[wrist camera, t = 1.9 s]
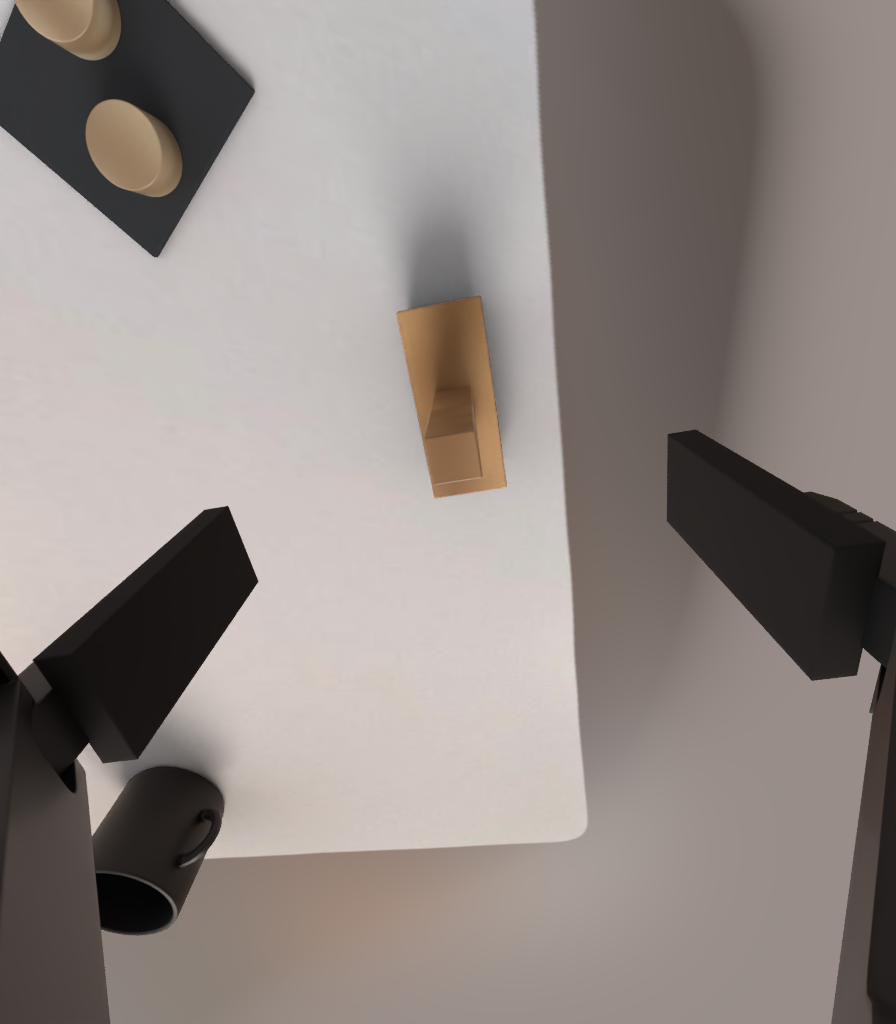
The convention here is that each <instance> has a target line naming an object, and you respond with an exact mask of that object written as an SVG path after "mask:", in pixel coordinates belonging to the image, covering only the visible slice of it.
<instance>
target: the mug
mask: <svg viewBox="0 0 896 1024" xmlns="http://www.w3.org/2000/svg"><path fill="white" fill-rule="evenodd" d="M223 813H224V803H223V799H222V797H221V795H220V793H219V792H218V790H217V789H216V788H215V787H214V786H213V785H212V784H211V783H209V782H208V781H207V780H205V779H203V778H202V777H200V776H198V775H196V774H194V773H191V772H188V771H185V770H181V769H177V768H167V767H160V768H152V769H148V770H145V771H142V772H140V773H139V774H137V775H136V776H134V777H133V778H132V779H131V780H130V781H129V782H128V784H127V785H126V787H125V788H124V790H123V791H122V793H121V794H120V796H119V797H118V799H117V800H116V802H115V803H114V805H113V806H112V808H111V809H110V811H109V812H108V814H107V815H106V817H105V818H104V820H103V821H102V823H101V824H100V826H99V827H98V829H97V830H96V832H95V833H94V835H93V836H92V845H93V855H94V865H95V876H96V886H97V896H98V906H99V916H100V926H101V930H104V931H108V932H112V933H118V934H123V935H149V934H154V933H158V932H161V931H163V930H166V929H167V928H169V927H170V926H171V925H172V924H173V923H174V922H175V921H176V919H177V917H178V915H179V913H180V911H181V908H182V906H183V904H184V902H185V899H186V897H187V895H188V893H189V890H190V888H191V886H192V884H193V881H194V879H195V877H196V875H197V873H198V870H199V868H200V866H201V864H202V861H203V859H204V857H205V855H206V852H207V850H208V849H209V847H210V846H211V845H212V844H213V842H214V841H215V839H216V837H217V835H218V833H219V831H220V828H221V824H222V817H223Z"/></svg>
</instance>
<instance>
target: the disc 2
mask: <svg viewBox="0 0 896 1024" xmlns="http://www.w3.org/2000/svg"><path fill="white" fill-rule="evenodd" d="M86 142H87V146H88V150H89V153H90V155H91V158H92V160H93V162H94V163H95V165H96V167H97V168H98V169H99V171H100V172H101V173H102V174H103V175H104V176H105V177H106V178H107V179H108V180H109V181H110V182H112V183H113V184H115V185H116V186H118V187H120V188H123V189H126V190H129V191H132V192H136V193H139V194H143V195H146V196H150V197H161V196H165V195H167V194H169V193H170V192H172V191H173V190H174V189H175V188H176V186H177V185H178V183H179V181H180V178H181V175H182V167H183V164H182V155H181V151H180V148H179V145H178V143H177V141H176V139H175V137H174V135H173V134H172V132H171V131H170V130H169V128H168V127H167V126H166V125H165V124H164V123H163V122H161V121H160V120H159V119H157V118H156V117H154V116H152V115H150V114H149V113H147V112H145V111H143V110H141V109H140V108H138V107H136V106H134V105H132V104H130V103H128V102H126V101H123V100H118V99H110V100H106V101H103V102H101V103H99V104H98V105H96V106H95V107H94V108H93V110H92V111H91V113H90V114H89V117H88V119H87V124H86Z"/></svg>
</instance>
